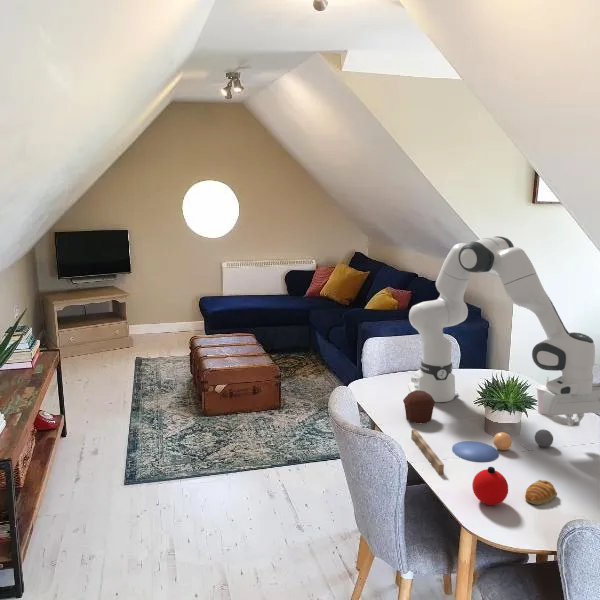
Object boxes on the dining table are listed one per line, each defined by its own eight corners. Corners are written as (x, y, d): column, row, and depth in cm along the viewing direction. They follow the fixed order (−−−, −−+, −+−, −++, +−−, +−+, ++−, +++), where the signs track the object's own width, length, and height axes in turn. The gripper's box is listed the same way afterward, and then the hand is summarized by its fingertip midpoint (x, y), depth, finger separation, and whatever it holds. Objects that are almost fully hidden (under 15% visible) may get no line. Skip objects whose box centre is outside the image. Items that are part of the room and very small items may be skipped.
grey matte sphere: (530, 443, 183) (531, 427, 182) (546, 441, 184) (547, 426, 183) (539, 450, 178) (541, 434, 176) (556, 449, 178) (557, 433, 177)
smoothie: (545, 417, 203) (549, 380, 200) (530, 411, 208) (533, 375, 205) (556, 413, 206) (559, 377, 203) (541, 408, 211) (544, 372, 208)
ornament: (482, 489, 155) (484, 456, 153) (513, 502, 149) (516, 468, 147) (464, 502, 150) (466, 467, 147) (496, 516, 143) (498, 480, 141)
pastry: (543, 510, 146) (544, 497, 145) (517, 500, 151) (518, 487, 150) (558, 497, 152) (559, 484, 151) (533, 487, 157) (534, 475, 156)
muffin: (408, 410, 210) (409, 384, 208) (438, 415, 205) (439, 389, 203) (398, 421, 200) (399, 395, 198) (429, 428, 195) (430, 400, 193)
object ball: (489, 446, 181) (490, 430, 180) (505, 444, 182) (507, 428, 181) (497, 453, 176) (499, 437, 175) (514, 452, 176) (515, 436, 175)
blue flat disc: (445, 443, 183) (445, 442, 183) (485, 440, 185) (486, 439, 185) (463, 463, 170) (463, 463, 170) (506, 460, 172) (507, 459, 172)
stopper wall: (411, 438, 187) (411, 429, 186) (415, 438, 187) (416, 429, 187) (438, 474, 164) (438, 464, 163) (443, 474, 164) (443, 464, 163)
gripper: (600, 379, 182) (597, 419, 185) (541, 383, 179) (538, 424, 182) (613, 385, 176) (610, 427, 178) (552, 389, 173) (549, 432, 176)
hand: (573, 425), depth 180 cm, fingers closed
